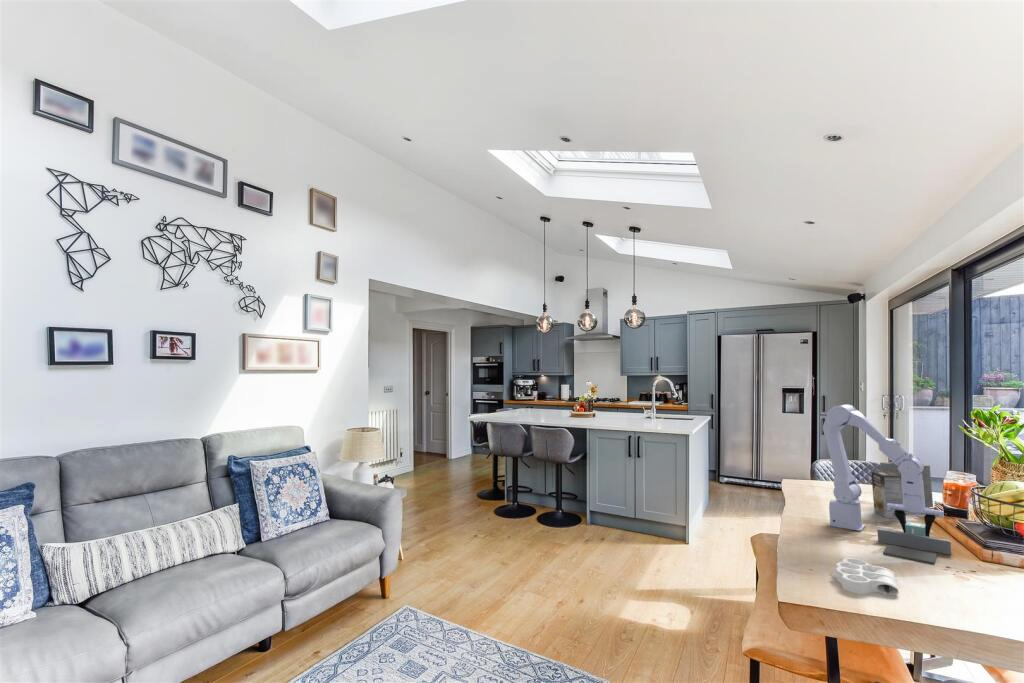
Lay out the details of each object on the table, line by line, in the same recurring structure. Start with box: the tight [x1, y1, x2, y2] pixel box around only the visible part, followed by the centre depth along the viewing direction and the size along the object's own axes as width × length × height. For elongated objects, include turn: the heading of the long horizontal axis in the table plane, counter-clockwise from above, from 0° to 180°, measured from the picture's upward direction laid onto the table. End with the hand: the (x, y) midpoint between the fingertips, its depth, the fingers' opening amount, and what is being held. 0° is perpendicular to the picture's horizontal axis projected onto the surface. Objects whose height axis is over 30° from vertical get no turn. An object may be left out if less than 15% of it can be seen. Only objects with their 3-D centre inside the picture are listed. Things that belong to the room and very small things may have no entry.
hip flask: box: [879, 461, 934, 508], centre depth 197 cm, size 16×4×20 cm, turn 57°
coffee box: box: [870, 470, 903, 519], centre depth 188 cm, size 9×6×16 cm
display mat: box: [882, 544, 938, 565], centre depth 149 cm, size 12×9×1 cm
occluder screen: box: [876, 527, 952, 556], centre depth 155 cm, size 18×2×4 cm, turn 45°
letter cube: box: [905, 521, 926, 536], centre depth 161 cm, size 5×5×5 cm
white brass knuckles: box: [830, 557, 899, 596], centre depth 132 cm, size 3×18×15 cm
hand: (916, 535), depth 161 cm, fingers closed on letter cube, 5 cm apart
